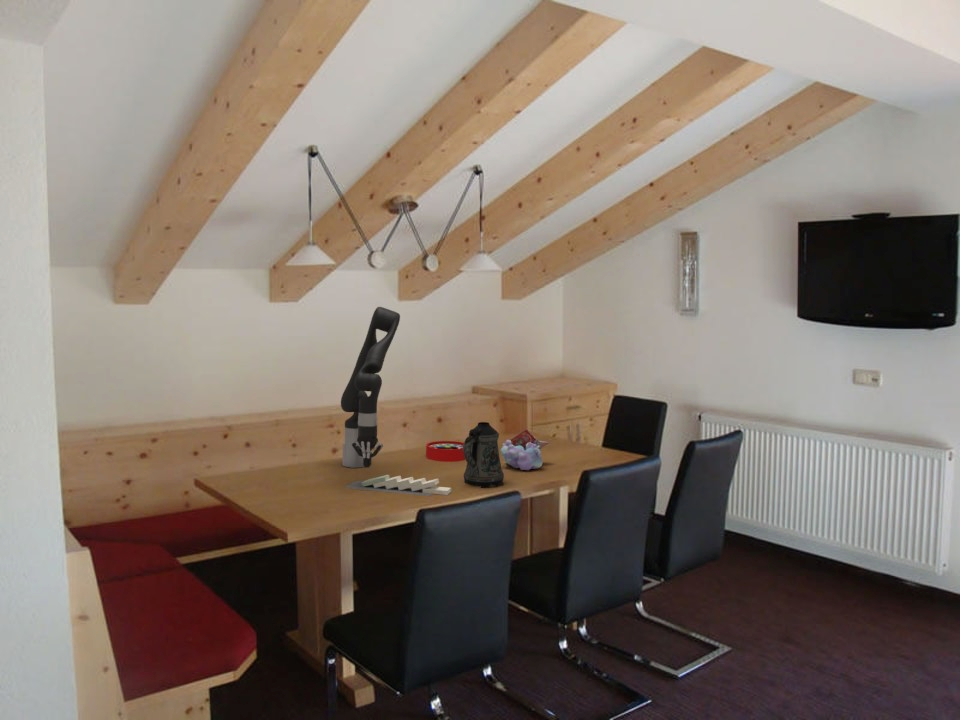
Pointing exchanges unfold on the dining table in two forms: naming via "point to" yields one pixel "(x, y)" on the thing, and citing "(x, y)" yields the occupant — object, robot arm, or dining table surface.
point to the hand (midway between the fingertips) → (367, 467)
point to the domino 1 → (375, 480)
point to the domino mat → (383, 488)
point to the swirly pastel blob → (523, 451)
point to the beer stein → (482, 457)
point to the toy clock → (445, 451)
